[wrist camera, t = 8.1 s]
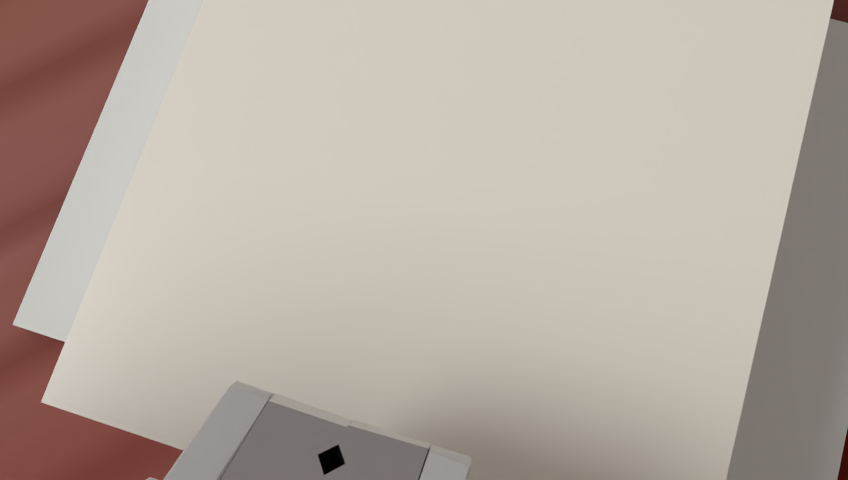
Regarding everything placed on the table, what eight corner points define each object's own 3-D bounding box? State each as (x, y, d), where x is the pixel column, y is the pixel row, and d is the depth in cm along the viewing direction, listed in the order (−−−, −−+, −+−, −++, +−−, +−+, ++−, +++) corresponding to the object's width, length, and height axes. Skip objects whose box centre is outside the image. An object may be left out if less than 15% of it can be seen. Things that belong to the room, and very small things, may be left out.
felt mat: (808, 585, 14) (815, 589, 14) (21, 326, 16) (12, 324, 16) (916, 48, 17) (924, 41, 16) (209, -127, 18) (205, -136, 18)
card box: (693, 623, 11) (882, -214, 14) (41, 401, 12) (336, -330, 15) (639, 574, 14) (799, -87, 17) (134, 406, 15) (359, -189, 18)
